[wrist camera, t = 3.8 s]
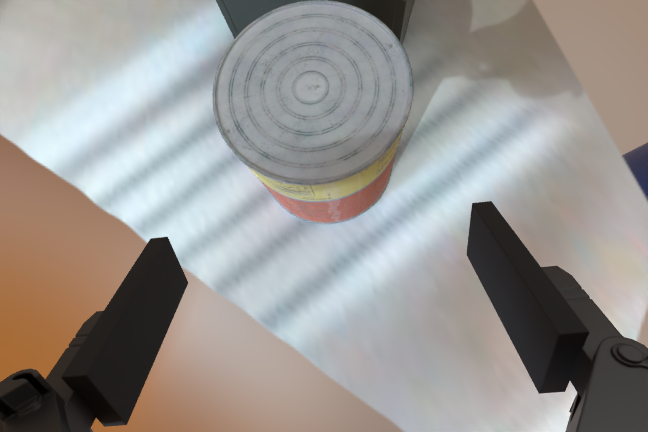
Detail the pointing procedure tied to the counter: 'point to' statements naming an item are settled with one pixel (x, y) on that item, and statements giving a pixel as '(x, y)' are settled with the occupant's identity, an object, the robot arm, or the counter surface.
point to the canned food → (316, 106)
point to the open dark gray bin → (251, 3)
